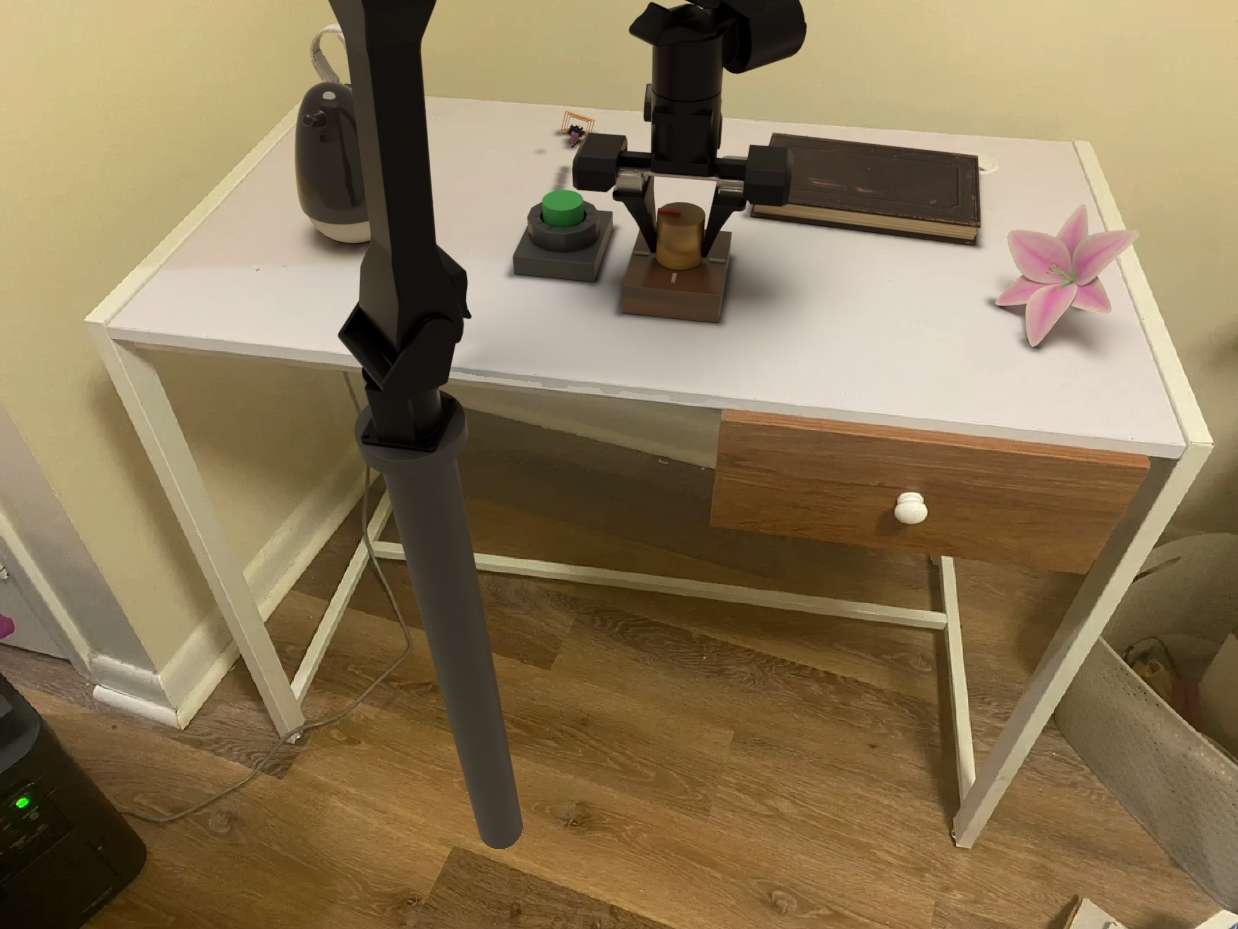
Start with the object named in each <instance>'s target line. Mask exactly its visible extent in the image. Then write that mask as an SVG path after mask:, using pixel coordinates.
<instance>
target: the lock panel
mask: <svg viewBox="0 0 1238 929" xmlns="http://www.w3.org/2000/svg"><path fill="white" fill-rule="evenodd" d="M638 229H639V228H638ZM705 232H706V228H705V230H704V237H705ZM732 236H733V231H729V230H728V231H727V230H720V231H719V233H718V235H717V237H716V239H715V241H714V243H713V245H712V247H711V249H710V251H709V253H708V255H707V257H706V258H702V261H701V263H700V264H699V265H697V266H696V267H693V268H691V269H686V270H674V269H669V268H666V267H664V266H662V265H661V264H660V263H658V261H657V260H656V253H651V252H650V250H649V248H648V245H647V243H646V241H645V239H644V237H643V235H642V233H641V231H640V229H639V230H638V233H637V236H636V238H635V241H634V245H633V248H632V252H631V255H630V258H629V261H628V263H627V264H628V265H627V268H626V271H625V274H624V277H623V281H622V284H621V314H632V315H639V316H651V317H660V318H667V319H668V318H669V319H677V320H688V321H698V322H706V323H717V324H718V323H720V322H719V321H720V315H721V312H722V311H721V310H722V305H723V304H722V303H723V298H724V292H725V286H726V282H727V276H728V269H729V264H730V257H731V247H732Z"/></svg>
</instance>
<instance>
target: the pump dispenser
mask: <svg viewBox="0 0 1238 929" xmlns="http://www.w3.org/2000/svg"><path fill="white" fill-rule="evenodd" d="M341 83H342V82H341ZM341 83H337V82H331V81H327V82H323V81H321V82H318V83H316V84H314V85H312V86H311V87H310V88H309V89H308V90H307V91H306V92H305V93H304V95H303V97H302V99H301V102H300V105H299V108H298V112H297V116H296V123H295V129H294V130H295V132H294V174H295V175H294V176H295V183H296V185H295V186H296V191H297V193H296V194H297V198H298V202H299V206H300V209H301V211H302V213H304V215H306V216H307V217H308V219H309V221H310V222H311V223H312V225H313V226H314V227H315V228H316V229H317V230H318V231H319V232H320V233H321V234H323V235H324V236H326V237H328V238H329V239H331V240H333V241H336V242H340V243H347V244H357V243H365V242H370V239H371V232H370V225H369V217H368V210H367V202H366V195H365V187H364V180H363V172H362V164H361V157H360V149H359V142H358V134H357V127H356V119H355V112H354V104H353V96H352V90H351V89H350V88H348V87H347V86H345V85H344V83H343V84H341Z"/></svg>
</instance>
